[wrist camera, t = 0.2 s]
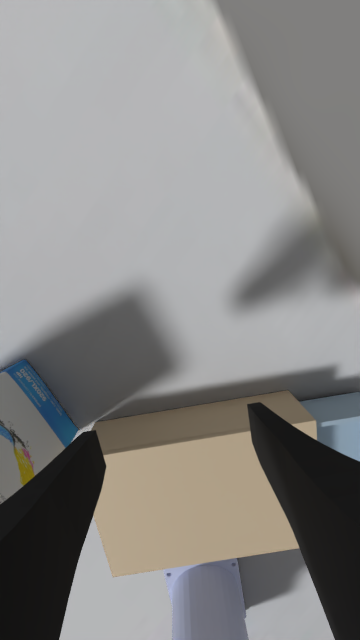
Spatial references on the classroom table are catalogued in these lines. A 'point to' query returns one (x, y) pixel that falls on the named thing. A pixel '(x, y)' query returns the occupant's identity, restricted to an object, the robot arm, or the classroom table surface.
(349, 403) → the tray
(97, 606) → the classroom table surface
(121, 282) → the classroom table surface
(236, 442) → the sleeve
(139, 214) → the classroom table surface
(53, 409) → the ink box
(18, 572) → the robot arm
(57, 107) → the classroom table surface
